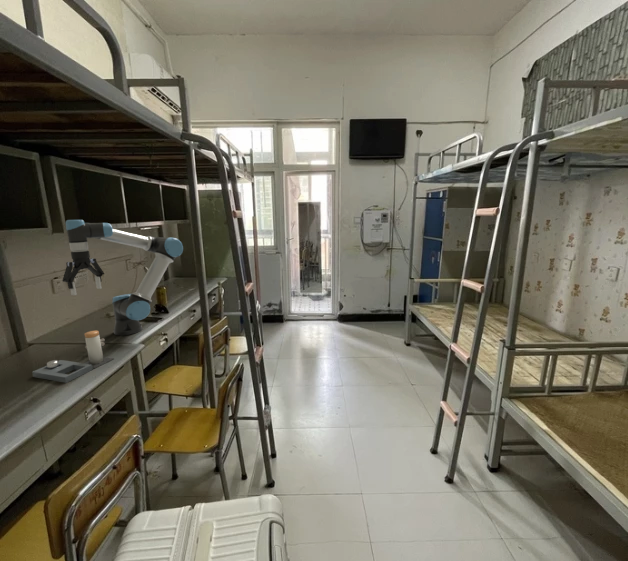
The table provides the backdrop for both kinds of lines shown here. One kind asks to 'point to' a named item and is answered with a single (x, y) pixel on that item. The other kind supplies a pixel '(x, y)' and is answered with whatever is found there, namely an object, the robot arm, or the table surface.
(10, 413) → the table surface
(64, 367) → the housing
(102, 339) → the pipe connector
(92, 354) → the cartridge
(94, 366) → the mat
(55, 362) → the plunger
